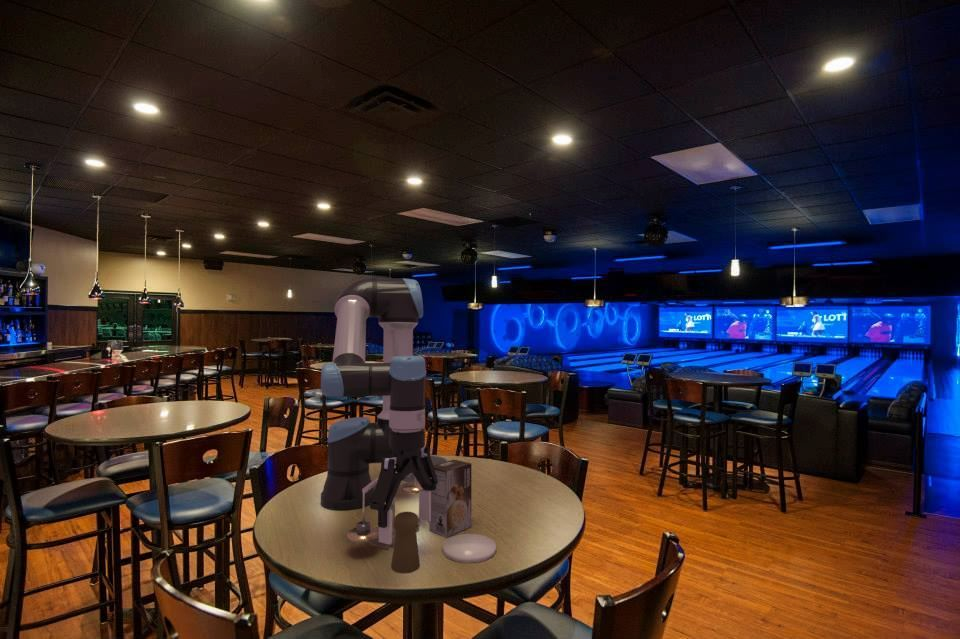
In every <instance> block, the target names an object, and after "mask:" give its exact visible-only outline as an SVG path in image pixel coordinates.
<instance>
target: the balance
mask: <svg viewBox="0 0 960 639" xmlns="http://www.w3.org/2000/svg"><path fill="white" fill-rule="evenodd" d="M395 473H397V472H395ZM378 477H379V476H377V477H376V478H375V479H374V480H371V483H370V484H368V485H367V486H366V487H364V488H363V489H362V492H363V507H362V520H361V521H358V522H357V523H356V527H354V528H352V529H350V530H348V531H347V534H346V539H347V541H348V542H350V543H354V544H365V545H368V544H369V546H373V547H376V548H379V549H383V550H387V551H388V550H390V549H392V548H394V543H395V536H396V529H395V528H394V518H395V516H396V496H395V497H394V499H393V502H392V504H391V506H390V508H389V509H390V510H392V543H391V544H390V545H389V544H385V543H381V542H379V527H378V526H376V527H374V526H371V522H370V521H368V520H365V513H366V512H365V509H366V508H365V507H366V506H365V493H367V492H368V491H369V490H371V489H372V488H374V487H376V484H377V481H378ZM400 486H401V488H400V489H401V491H402V492H403V493H404V494H411V495H413V494H414V495H415V494H419V490H420V489H423V488H422V487H421V486H420V484H419V482H416V477H414V482H405V483H403V484H401V485H400ZM419 531H420V524H418V527H417V528H416V534H417V533H418V532H419Z"/></svg>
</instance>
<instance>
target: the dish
mask: <svg viewBox="0 0 960 639" xmlns="http://www.w3.org/2000/svg"><path fill="white" fill-rule="evenodd" d="M496 547H497V544H496V542H495V541H494V540H493V539H492V538H490V537H488V536H486V535H483V534H475V533H462V534H457V535H456V534H455V535H452V536H449V537H447V538H446V540H444V541H443V543H442V554H443V555H444V557H446V558H447V559H449V560H451V561H454V562H458V563H463V564H464V563H465V564H474V563H481V562H486V561H488V560H490V559H491V558H493V557H494V556H495V554H496V552H497V548H496Z"/></svg>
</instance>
